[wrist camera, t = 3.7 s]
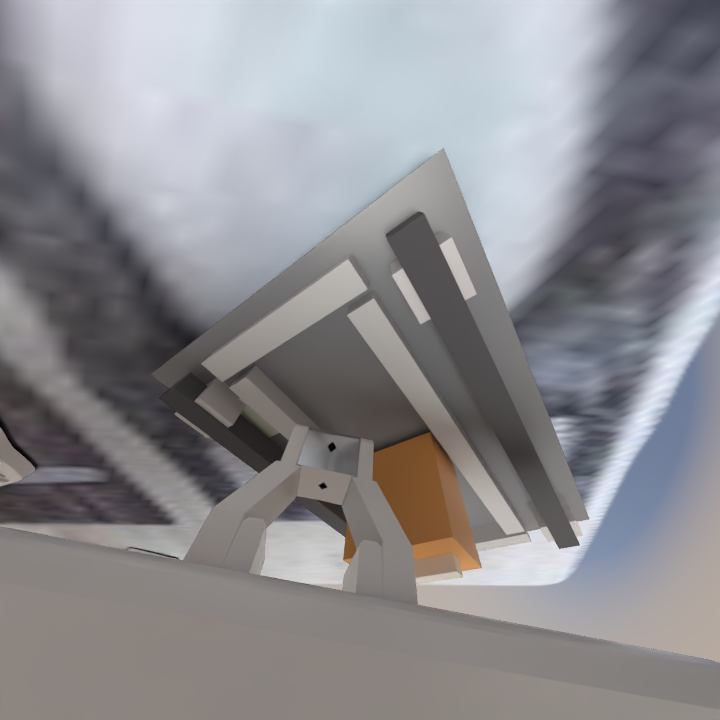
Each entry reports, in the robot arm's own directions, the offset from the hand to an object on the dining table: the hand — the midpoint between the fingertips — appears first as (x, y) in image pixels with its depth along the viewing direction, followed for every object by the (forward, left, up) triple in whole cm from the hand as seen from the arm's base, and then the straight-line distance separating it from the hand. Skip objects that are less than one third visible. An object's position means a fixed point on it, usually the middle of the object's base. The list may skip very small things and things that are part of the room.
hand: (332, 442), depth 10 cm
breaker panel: (0, -6, -5) cm, 8 cm away
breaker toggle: (0, -6, -3) cm, 7 cm away
